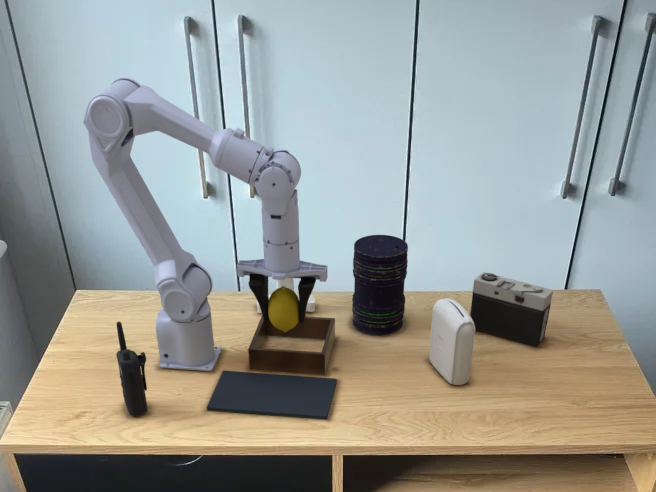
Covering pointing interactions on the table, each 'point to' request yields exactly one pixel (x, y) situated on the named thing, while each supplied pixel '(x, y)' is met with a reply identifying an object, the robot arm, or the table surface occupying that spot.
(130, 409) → the two-way radio
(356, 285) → the dark navy cylinder
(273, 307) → the lemon
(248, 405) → the mat
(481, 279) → the camera
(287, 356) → the wooden frame
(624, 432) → the table surface
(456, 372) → the photo printer
